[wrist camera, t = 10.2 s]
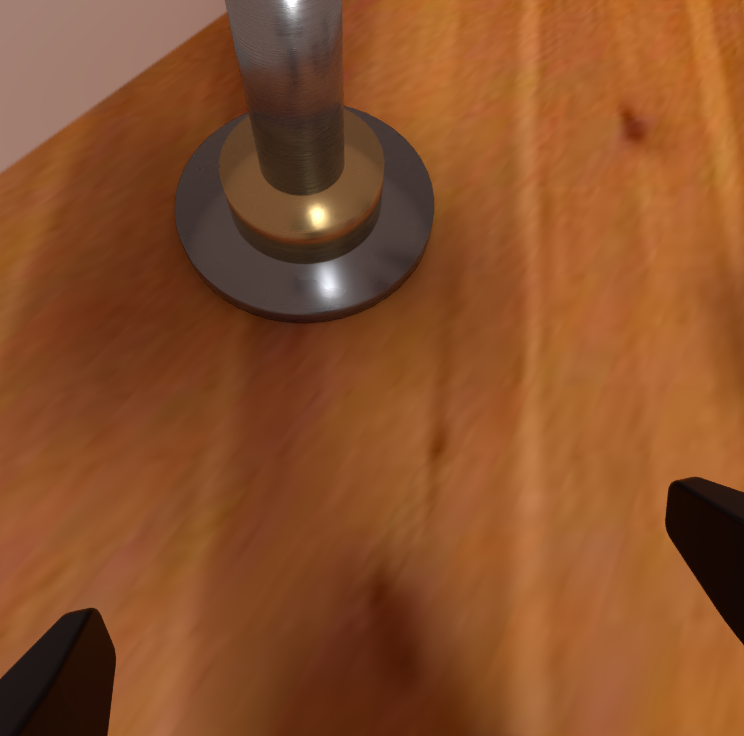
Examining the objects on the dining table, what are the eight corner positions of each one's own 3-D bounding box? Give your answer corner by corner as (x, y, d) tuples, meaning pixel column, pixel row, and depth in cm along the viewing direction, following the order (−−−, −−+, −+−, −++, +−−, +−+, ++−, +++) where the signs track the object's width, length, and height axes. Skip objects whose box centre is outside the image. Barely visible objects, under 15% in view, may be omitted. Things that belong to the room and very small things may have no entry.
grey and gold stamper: (402, 166, 28) (435, -127, 17) (349, 284, 25) (348, 31, 14) (268, 124, 28) (215, -183, 17) (204, 235, 26) (93, -43, 15)
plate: (481, 210, 28) (486, 197, 27) (305, 375, 25) (303, 366, 24) (308, 81, 31) (307, 65, 30) (128, 212, 27) (120, 198, 26)
